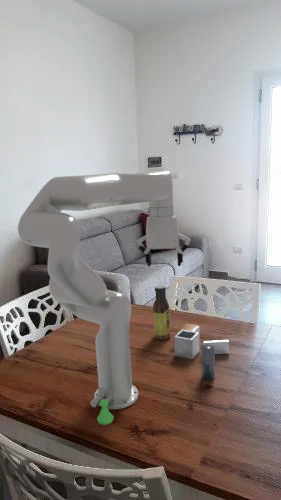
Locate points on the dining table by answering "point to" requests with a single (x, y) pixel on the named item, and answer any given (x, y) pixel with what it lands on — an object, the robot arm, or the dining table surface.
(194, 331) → the hinge base
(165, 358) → the dining table surface
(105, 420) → the game piece
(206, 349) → the pin
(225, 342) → the leaf loose
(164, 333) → the sauce bottle
